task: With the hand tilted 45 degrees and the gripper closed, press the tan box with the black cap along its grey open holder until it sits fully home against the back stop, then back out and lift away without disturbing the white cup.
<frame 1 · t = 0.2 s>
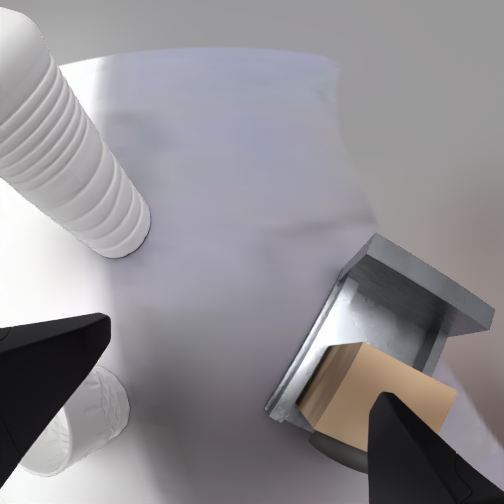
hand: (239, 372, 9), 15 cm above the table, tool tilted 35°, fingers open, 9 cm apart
water bottle: (110, 232, 27), on the table
white cup: (97, 402, 22), on the table
grey open holder: (373, 343, 23), on the table
tan box: (364, 410, 17), point 5 cm above the table, slide at 4.5 cm
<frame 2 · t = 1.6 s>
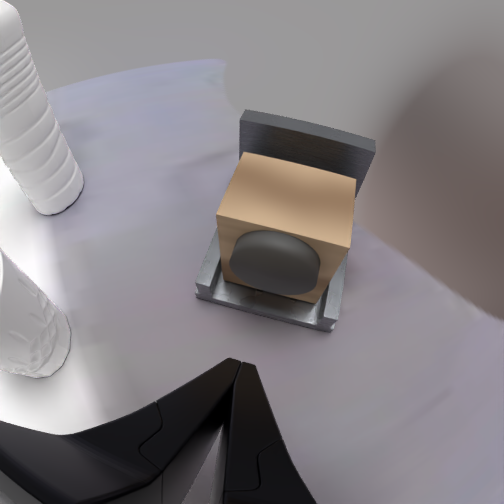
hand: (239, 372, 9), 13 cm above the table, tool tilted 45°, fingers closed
water bottle: (52, 199, 28), on the table
white cup: (41, 340, 21), on the table
grey open holder: (287, 224, 27), on the table
tan box: (281, 241, 20), point 5 cm above the table, slide at 4.5 cm
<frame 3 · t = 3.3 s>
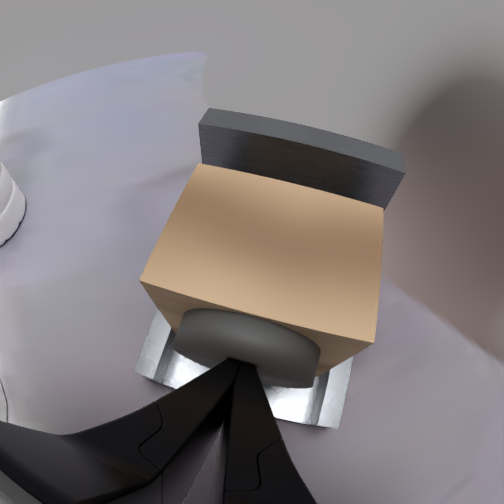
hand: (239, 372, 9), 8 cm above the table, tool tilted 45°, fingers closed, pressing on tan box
grey open holder: (273, 272, 19), on the table
tan box: (261, 303, 13), point 5 cm above the table, slide at 3.6 cm, touching gripper
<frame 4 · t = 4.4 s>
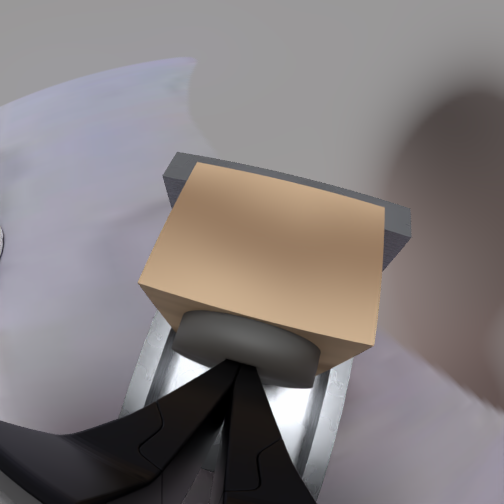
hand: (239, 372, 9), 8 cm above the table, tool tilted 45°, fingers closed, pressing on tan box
grey open holder: (257, 328, 17), on the table
tan box: (262, 303, 13), point 5 cm above the table, slide at -0.3 cm, touching gripper, grey open holder
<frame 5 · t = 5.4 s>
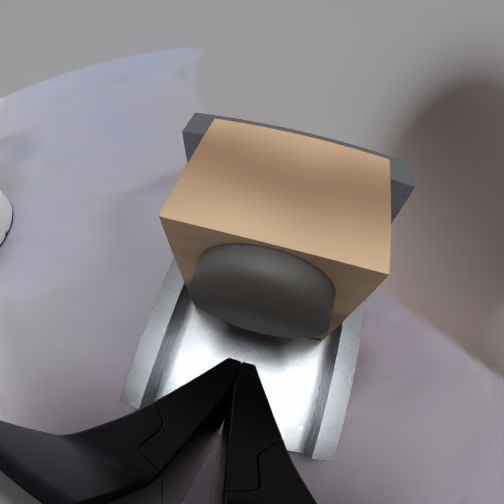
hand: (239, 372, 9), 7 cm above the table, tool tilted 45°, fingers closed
grey open holder: (268, 289, 18), on the table
tan box: (274, 255, 13), point 5 cm above the table, slide at 0.0 cm
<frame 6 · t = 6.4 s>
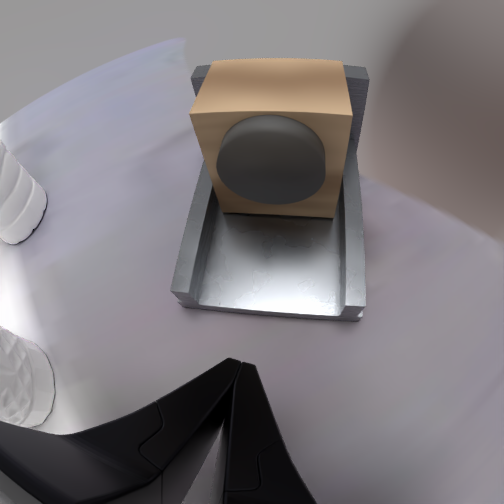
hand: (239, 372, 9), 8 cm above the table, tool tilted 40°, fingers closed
water bottle: (19, 225, 24), on the table
white cup: (27, 384, 17), on the table
grey open holder: (280, 194, 21), on the table
tan box: (276, 146, 16), point 5 cm above the table, slide at 0.0 cm
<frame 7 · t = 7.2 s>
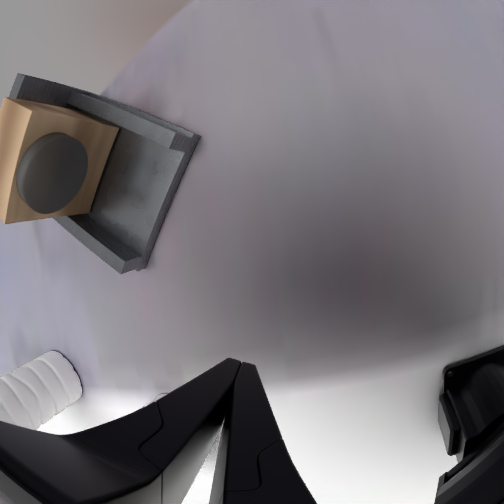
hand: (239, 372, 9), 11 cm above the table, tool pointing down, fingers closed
water bottle: (70, 382, 29), on the table
grey open holder: (94, 161, 22), on the table
tan box: (49, 160, 17), point 5 cm above the table, slide at 0.0 cm
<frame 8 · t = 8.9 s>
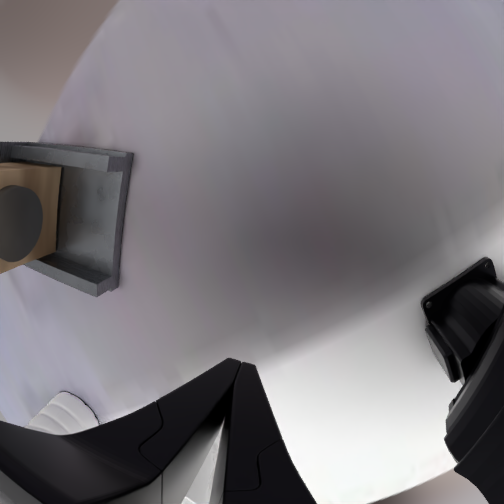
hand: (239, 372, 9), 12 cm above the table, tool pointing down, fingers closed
water bottle: (85, 417, 29), on the table
white cup: (195, 421, 25), on the table
grey open holder: (48, 203, 22), on the table
tan box: (8, 213, 17), point 5 cm above the table, slide at 0.0 cm
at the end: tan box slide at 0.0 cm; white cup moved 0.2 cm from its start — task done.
